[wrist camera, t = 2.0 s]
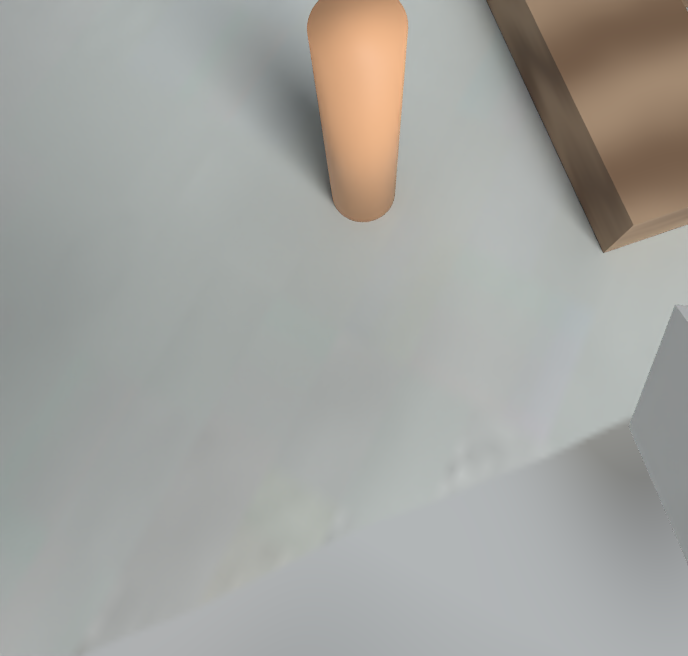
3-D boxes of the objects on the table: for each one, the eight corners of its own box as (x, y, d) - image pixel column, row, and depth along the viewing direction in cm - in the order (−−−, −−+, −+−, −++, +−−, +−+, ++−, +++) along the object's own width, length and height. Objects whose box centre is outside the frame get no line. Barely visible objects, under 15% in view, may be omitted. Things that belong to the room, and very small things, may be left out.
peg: (323, 175, 31) (294, 1, 19) (382, 155, 31) (388, -30, 20) (343, 230, 30) (325, 84, 19) (403, 210, 31) (422, 52, 19)
